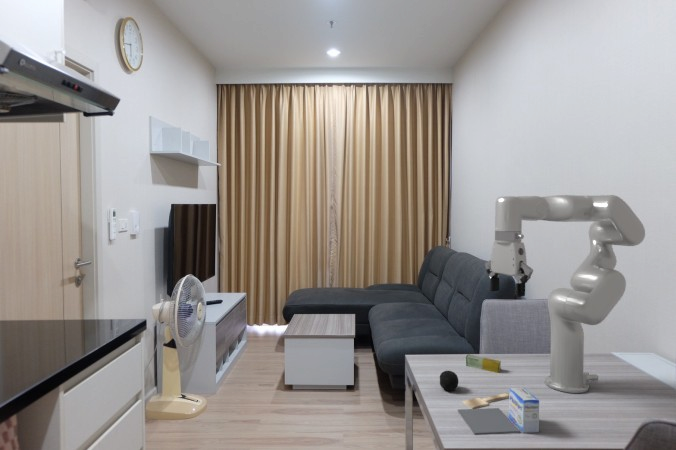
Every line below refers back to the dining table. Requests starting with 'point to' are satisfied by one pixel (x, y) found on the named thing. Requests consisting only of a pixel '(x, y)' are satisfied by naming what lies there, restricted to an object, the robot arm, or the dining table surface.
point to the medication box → (483, 363)
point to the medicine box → (524, 410)
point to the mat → (488, 421)
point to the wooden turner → (484, 400)
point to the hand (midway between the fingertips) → (507, 293)
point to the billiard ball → (448, 380)
